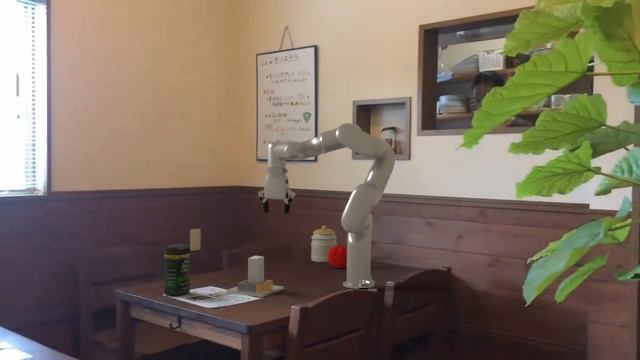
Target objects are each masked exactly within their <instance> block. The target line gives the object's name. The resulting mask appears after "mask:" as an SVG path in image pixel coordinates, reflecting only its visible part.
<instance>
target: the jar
mask: <svg viewBox="0 0 640 360" xmlns="http://www.w3.org/2000/svg"><path fill="white" fill-rule="evenodd" d="M312 233H313V235H311V237H310V238H311V243H310V244H311V254H310V255H311V256H310V258H311V261H312V262H315V263H316V262H317V263H329V261H328V254H329V251H330V249H331V248H332V247H334V246H338V242H337V238H338V236H336V231H335V230H333V229H331V228H327V226H326V225H322V226H321V228H319V229H315V230H314V231H313V232H312Z"/></svg>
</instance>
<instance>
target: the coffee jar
mask: <svg viewBox="0 0 640 360" xmlns="http://www.w3.org/2000/svg"><path fill="white" fill-rule="evenodd" d="M190 256H191V247H190V245H189V244H187V243H175V244H170V245H167V246H166V247H165V248H164V260H165V270H164V284H163V294H165V295H167V296H169V295H173V296H183V295H186V294H188V293H190V291H191V283H190V282H191V281H190ZM182 294H183V295H182Z"/></svg>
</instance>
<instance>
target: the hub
mask: <svg viewBox="0 0 640 360" xmlns="http://www.w3.org/2000/svg"><path fill="white" fill-rule="evenodd" d="M282 290H285V286H282V285H274V280H270V279H264V283H261V284H249V283H248V279H246V280H242V281H240V282H237V286H235V287H231V288H229V289H226V290H225V292H227V293H226V294H233V293H234V295H242V296H251V297H257V298H258V297H259V298H265V297H267V296H271V295H272V294H275V293H278V292H280V291H282Z"/></svg>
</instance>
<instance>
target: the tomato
mask: <svg viewBox="0 0 640 360" xmlns="http://www.w3.org/2000/svg"><path fill="white" fill-rule="evenodd" d="M328 261H329V262H328V263H329V264H330V265H331V266H332V267H333V268H337V269H347V245H343V244H339V245H337V246H334V247H332V248H331V249H330V251H329V254H328Z"/></svg>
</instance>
